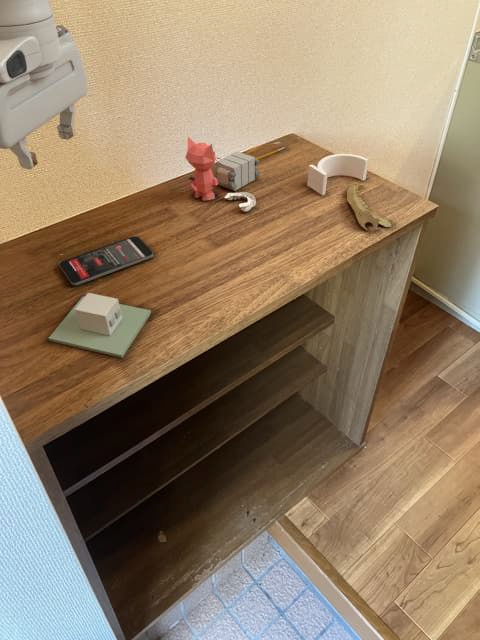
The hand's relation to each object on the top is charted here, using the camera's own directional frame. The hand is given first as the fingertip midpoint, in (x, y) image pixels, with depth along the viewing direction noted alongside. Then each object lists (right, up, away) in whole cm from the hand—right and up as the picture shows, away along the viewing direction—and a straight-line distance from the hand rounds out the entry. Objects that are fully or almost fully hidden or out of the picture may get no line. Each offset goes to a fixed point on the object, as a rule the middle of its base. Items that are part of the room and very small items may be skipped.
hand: (49, 151), depth 73 cm
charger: (+6, -24, +6) cm, 26 cm away
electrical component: (+30, +14, +40) cm, 52 cm away
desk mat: (+6, -25, +7) cm, 26 cm away
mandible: (+48, +2, +30) cm, 56 cm away
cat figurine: (+19, +2, +35) cm, 40 cm away
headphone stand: (+42, +5, +35) cm, 55 cm away
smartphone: (+3, -13, +19) cm, 23 cm away
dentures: (+27, 0, +33) cm, 43 cm away
